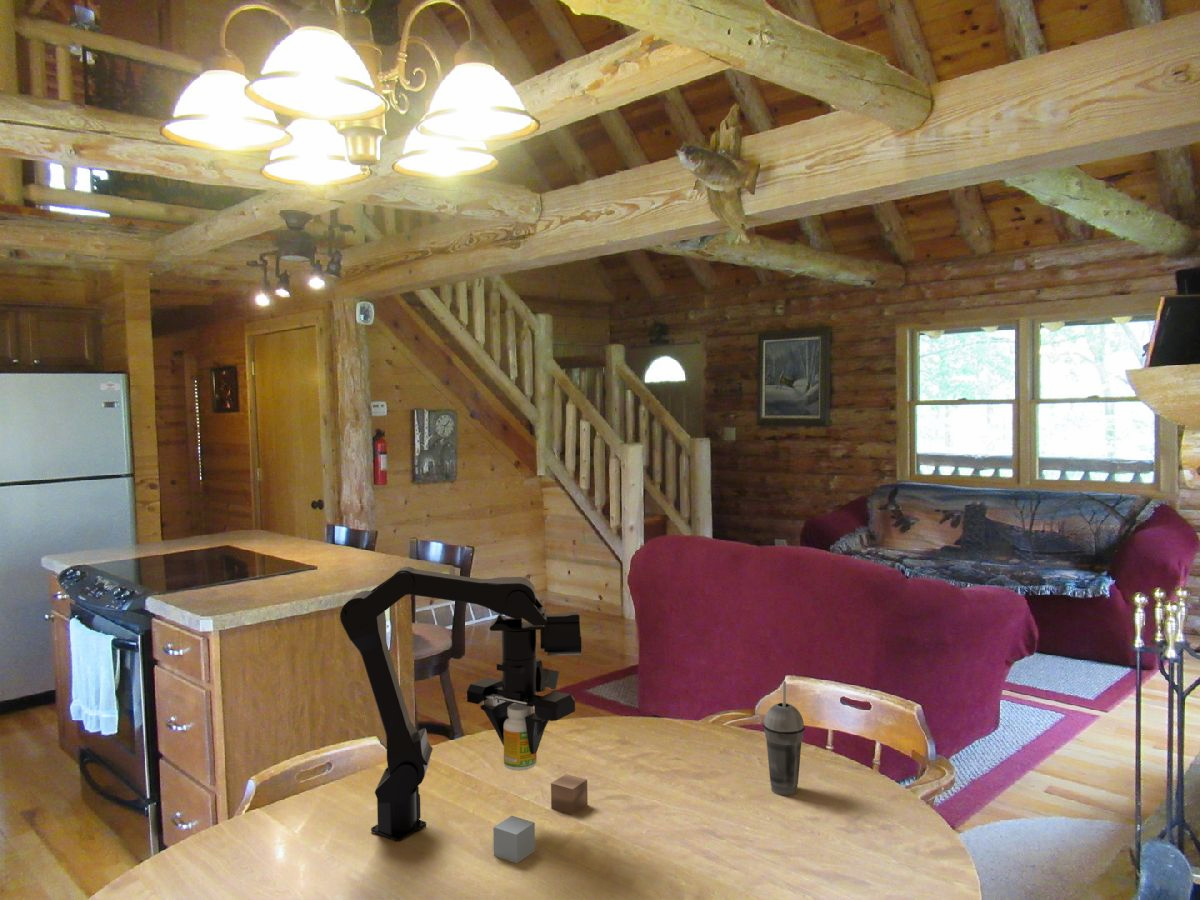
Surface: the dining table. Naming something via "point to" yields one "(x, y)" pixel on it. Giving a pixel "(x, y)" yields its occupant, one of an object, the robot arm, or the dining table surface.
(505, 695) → the robot arm
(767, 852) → the dining table surface
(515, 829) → the slate block
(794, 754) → the beverage cup
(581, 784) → the pinkish brown block
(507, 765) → the supplement bottle
